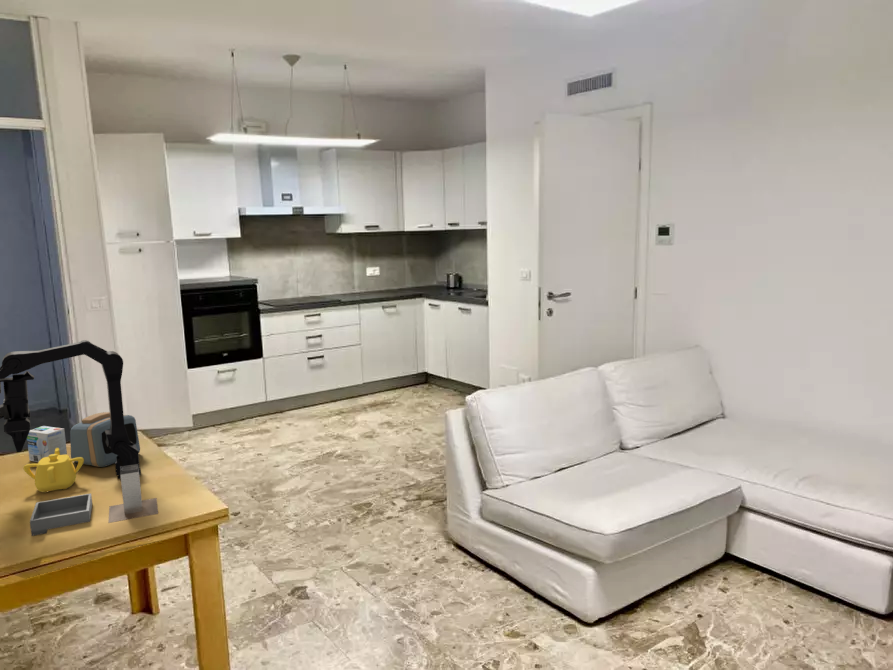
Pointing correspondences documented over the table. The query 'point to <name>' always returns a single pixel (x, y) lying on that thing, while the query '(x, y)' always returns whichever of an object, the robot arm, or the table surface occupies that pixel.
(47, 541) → the table surface
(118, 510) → the stud base
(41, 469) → the teapot
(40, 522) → the bin
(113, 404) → the robot arm
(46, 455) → the light bulb box
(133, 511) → the strut
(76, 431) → the grey toaster
